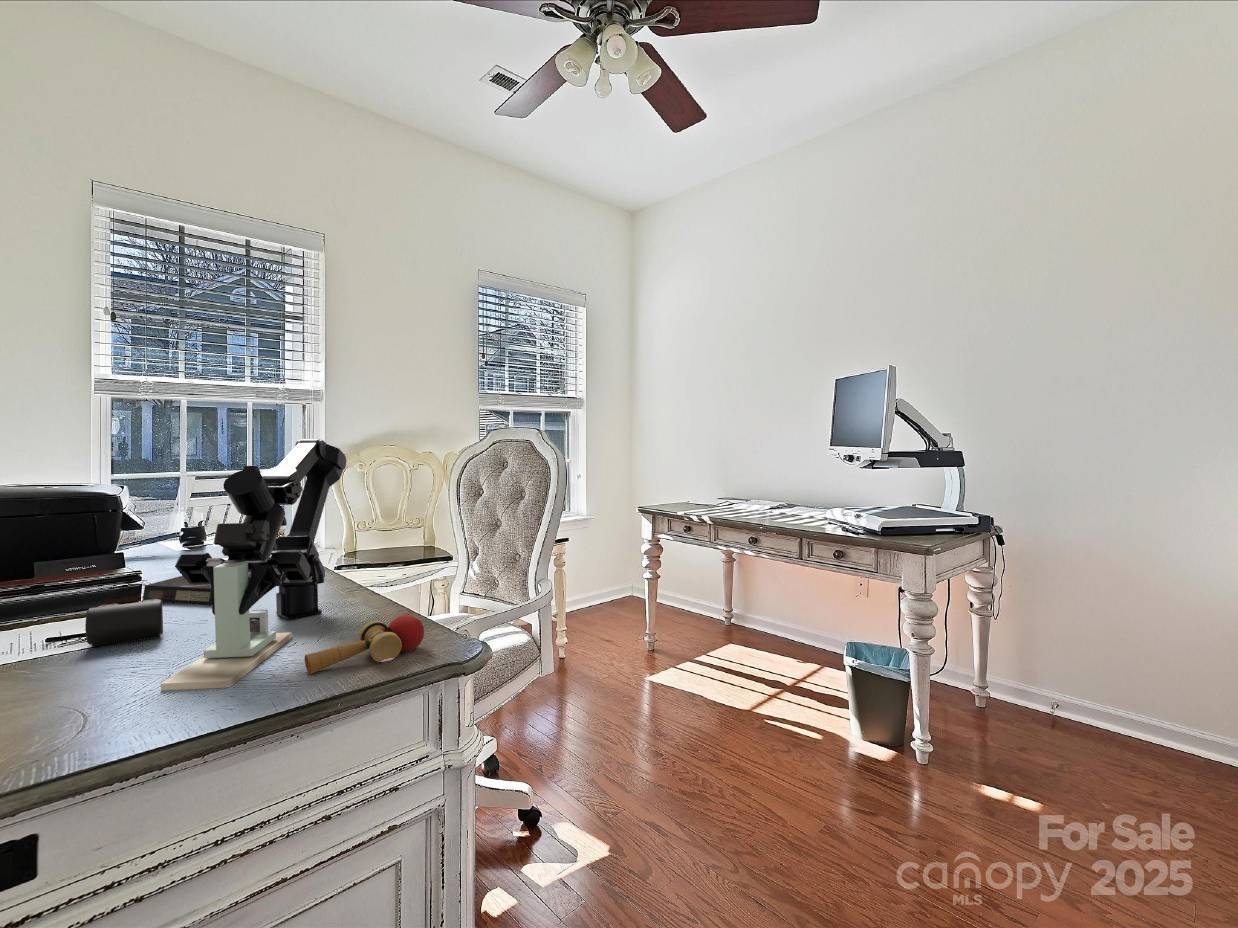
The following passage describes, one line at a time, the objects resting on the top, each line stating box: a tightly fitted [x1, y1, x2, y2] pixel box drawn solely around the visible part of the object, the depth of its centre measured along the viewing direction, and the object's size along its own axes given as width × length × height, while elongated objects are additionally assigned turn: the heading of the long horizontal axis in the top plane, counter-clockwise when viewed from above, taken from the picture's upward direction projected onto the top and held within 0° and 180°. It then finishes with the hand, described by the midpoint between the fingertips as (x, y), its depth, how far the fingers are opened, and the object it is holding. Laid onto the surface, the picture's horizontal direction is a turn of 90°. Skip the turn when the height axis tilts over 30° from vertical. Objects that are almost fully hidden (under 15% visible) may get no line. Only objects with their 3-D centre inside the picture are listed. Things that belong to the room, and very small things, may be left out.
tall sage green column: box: [203, 562, 277, 658], centre depth 97 cm, size 8×7×14 cm
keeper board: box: [160, 609, 293, 692], centre depth 94 cm, size 21×9×6 cm, turn 7°
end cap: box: [85, 598, 164, 648], centre depth 104 cm, size 10×7×7 cm
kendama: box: [304, 614, 425, 675], centre depth 95 cm, size 8×6×18 cm
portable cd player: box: [142, 573, 251, 606], centre depth 135 cm, size 16×17×4 cm
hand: (227, 613), depth 93 cm, fingers closed on tall sage green column, 3 cm apart
